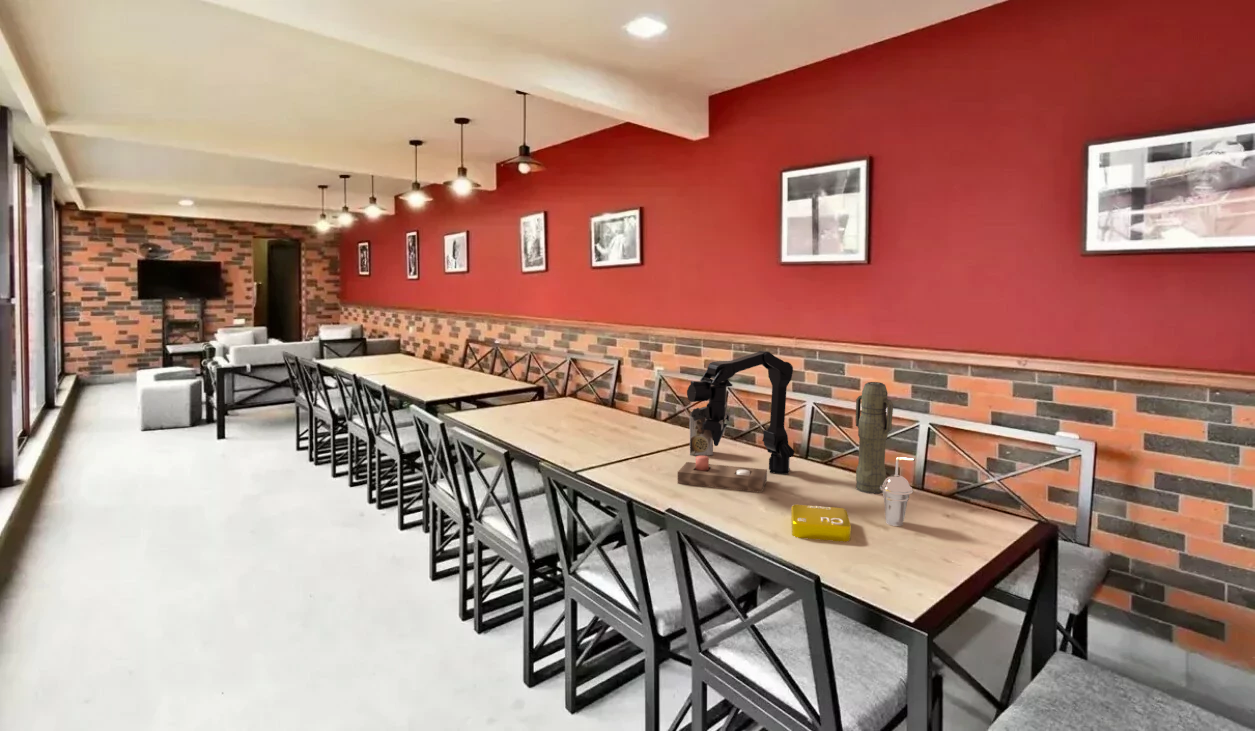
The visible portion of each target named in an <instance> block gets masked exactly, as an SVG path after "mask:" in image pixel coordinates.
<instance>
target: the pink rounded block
mask: <svg viewBox="0 0 1255 731" xmlns="http://www.w3.org/2000/svg"><path fill="white" fill-rule="evenodd" d="M709 459H710V458H709V455H695V463H696V470H697V471H708V470H709V464H710V462H709Z"/></svg>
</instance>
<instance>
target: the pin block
mask: <svg viewBox="0 0 1255 731" xmlns="http://www.w3.org/2000/svg"><path fill="white" fill-rule="evenodd" d="M737 470H748V471H750V476H747V475H737V474H736V473H737ZM767 481H768V469H765V468H764V469H763V468H756V467H755V468H753V467H744V466H736V465H735V466H733V465H722V464H711V463H709V470H708V471H697V470H696V462H692V461H691V462H690V461H686V462H685V463H684V464H683V465H682V466H681V468H680V469H678V471H677V484H678V485H679V484H681V485H690V486H692V485H693V486H697V487H698V486H700V487H709V488H710V487H711V488H716V489H717V488H718V489H728V490H737V491H746V492H753V493H754V492H755V493H756V492H758V493H762V492H763V490H764V487H765V486H766V483H767Z"/></svg>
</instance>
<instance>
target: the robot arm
mask: <svg viewBox="0 0 1255 731" xmlns="http://www.w3.org/2000/svg"><path fill="white" fill-rule="evenodd" d="M761 365H762V367H764V368H765V369H766V370H767V371H768V379H769V381H770V383H771V402H770V418H769V420H770V421H769V427H768V428H767V429H766V430H765V429H763V432H762V435H763V436H762V442H763V445H764V447H765V448H766V450H767V453H769V454H770V456H769V458H768V470H769V473H770V474H779V475H780V474H781V475H789V473H790V471H791V468H790V462H791V461H790V459H791V458H792V457H794V455H795V450H794V449H793V448H792V446H791V445H790V444H789V435H788V433H787V430H786V429H785V423H786V422H785V419H786V403H787V389H788V388H787V387H788V385H789V384H790V383H791V380H792V378H793V374H794V366H793V365H792V364H791V362H789V361H784V360H782V359H781V358H779V357H777V356H775V355H774V354H772V353H771V352H770V351H768V350H759V351H757V352H754V353H750V354H748V355H744V356H741V357H738V358H735V359H734V358H733V359H732V360H719V361H712V362H710V363H709V364H708V366H707V369H706V371H705V372H704V374H703V375H702V377H701V378H700V380H697V381H696V380H691V381H690V384H689V386H688V387H687V390H686V395H687V399H688V401H689V402H691V403H695V402H696V403H697V402H708V403H706V406H703V407H696V408H693V409H692V410H691V411H690V412H691V413H692V415H691V417H693V419H694V421H696V420H698V419H701V418H705V417H706V419H707V420H706V421H705V422H704V423H703V424H702V429H703V430H710V431H711V433H712V438H713V447H714V446H715V447H718V446H719V444H720V442H721V439H722V437H723V435H724V433H725V431H726V428H727V426H728V424H727V423H724V421H725V420H726V421H727V422H730V421H731V414H730V412H728V411H727V406H728V402H727V393H728V392H727V388H729V387H733V384H732V383H731V382H730V380H729V379H731V378H733V377H734V376H735V375H737V373H739V372H742V371H745V370H749V369H752V368H755V367H758V366H761Z"/></svg>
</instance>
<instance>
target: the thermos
mask: <svg viewBox="0 0 1255 731" xmlns="http://www.w3.org/2000/svg"><path fill="white" fill-rule="evenodd" d="M888 393H889V392H888V390H887V386H886V384H884V383H883V382H879V381H869V382H868V381H867V382H866V383H865V384H864V386H863V388H862V391H861V395H858V396H857V398H856V399H855V401H856V402H855V403H856V405H855V426H856V427H857V436H858V439H859V441H858V442H859V445H858V446H859V447H858V464H857V466H856V470H855V471H856V472H855V474H856V475H855V481H856V485H855V489H856V488H857V489H856V490H857V491H859V492H862V493H865V494H870V495H872V494H873V495H879V494H880V495H881V494H883V491H882V490H881V489H880V485H881V484H882V483H883V482H884V481H885V479H886V478H887V477H886V476H887V469H886V467H885V465H886V464H885V461H886V443H887V442H886V440H887V439H888V436H889V435H888V433H890V431H892V427H893V426H892V425H893V424H892V422H893V414H894V404H893V402H892V400H891V399H888Z"/></svg>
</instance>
